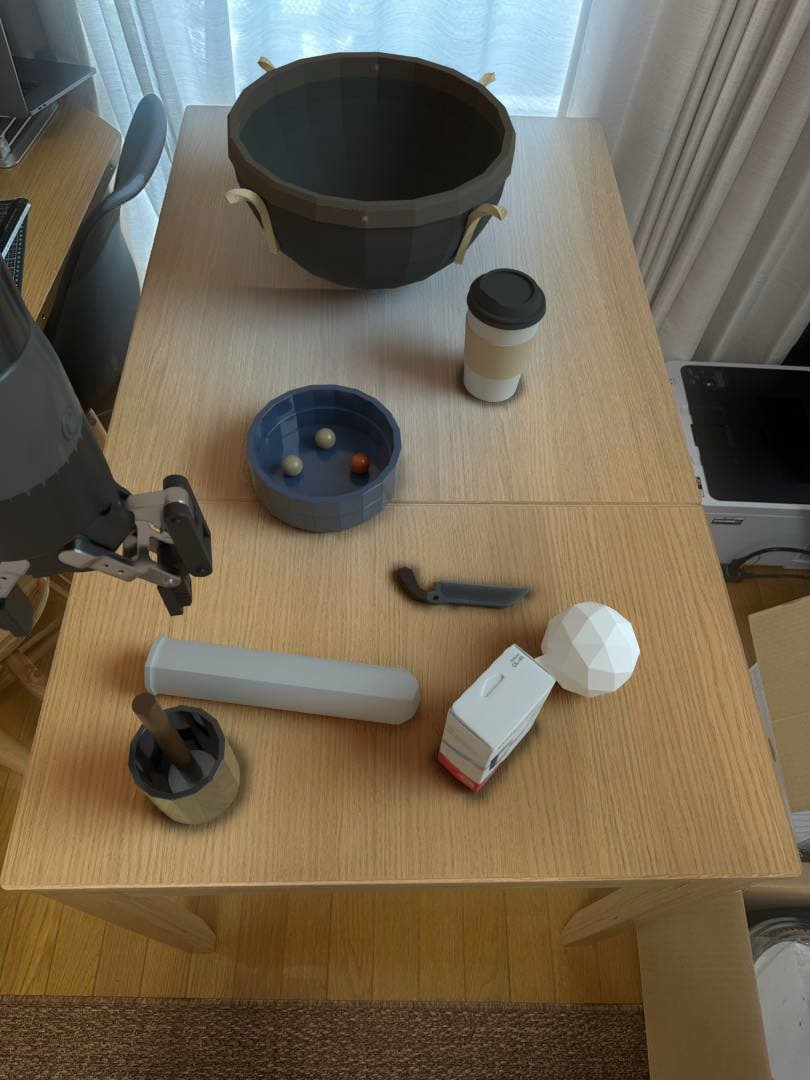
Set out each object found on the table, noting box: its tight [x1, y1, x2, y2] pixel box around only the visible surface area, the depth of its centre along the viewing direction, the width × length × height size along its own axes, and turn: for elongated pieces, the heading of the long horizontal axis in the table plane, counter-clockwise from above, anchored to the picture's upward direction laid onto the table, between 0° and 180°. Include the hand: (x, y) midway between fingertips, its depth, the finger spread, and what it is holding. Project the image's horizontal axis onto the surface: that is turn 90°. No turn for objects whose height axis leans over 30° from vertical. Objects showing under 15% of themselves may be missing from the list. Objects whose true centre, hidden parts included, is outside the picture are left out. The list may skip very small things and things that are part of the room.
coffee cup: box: [463, 267, 547, 403], centre depth 88 cm, size 9×9×15 cm
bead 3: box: [349, 453, 370, 474], centre depth 84 cm, size 2×2×2 cm
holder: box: [127, 704, 241, 826], centre depth 62 cm, size 7×8×9 cm
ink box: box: [437, 643, 557, 793], centre depth 64 cm, size 9×5×12 cm, turn 137°
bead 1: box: [281, 455, 303, 476], centre depth 83 cm, size 2×2×2 cm
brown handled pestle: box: [131, 691, 216, 794], centre depth 57 cm, size 4×4×19 cm
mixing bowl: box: [245, 383, 403, 533], centre depth 83 cm, size 17×17×6 cm
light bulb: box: [533, 600, 641, 699], centre depth 70 cm, size 9×9×12 cm
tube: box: [143, 633, 422, 726], centre depth 69 cm, size 5×5×25 cm
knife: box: [397, 566, 531, 609], centre depth 77 cm, size 14×4×1 cm, turn 86°
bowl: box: [222, 51, 517, 291], centre depth 98 cm, size 35×35×20 cm
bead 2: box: [315, 428, 336, 449], centre depth 86 cm, size 2×2×2 cm
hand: (102, 612), depth 43 cm, fingers open, 8 cm apart
